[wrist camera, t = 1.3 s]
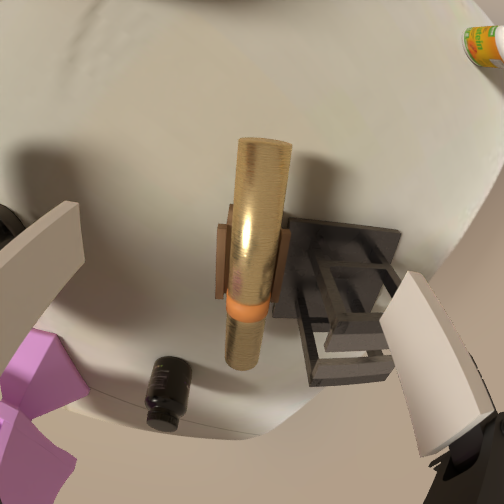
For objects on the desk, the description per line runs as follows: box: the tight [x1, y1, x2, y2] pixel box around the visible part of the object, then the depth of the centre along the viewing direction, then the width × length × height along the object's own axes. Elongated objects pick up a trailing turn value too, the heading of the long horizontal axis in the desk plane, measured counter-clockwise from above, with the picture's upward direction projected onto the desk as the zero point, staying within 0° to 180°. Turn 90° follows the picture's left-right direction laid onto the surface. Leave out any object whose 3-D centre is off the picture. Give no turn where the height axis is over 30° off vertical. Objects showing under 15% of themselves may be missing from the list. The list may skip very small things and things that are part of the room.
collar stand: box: [272, 218, 402, 387], centre depth 29 cm, size 14×14×13 cm
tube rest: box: [215, 204, 291, 303], centre depth 29 cm, size 6×8×6 cm
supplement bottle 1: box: [145, 356, 192, 432], centre depth 40 cm, size 7×7×12 cm
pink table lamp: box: [0, 328, 90, 504], centre depth 27 cm, size 22×22×45 cm
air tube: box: [225, 138, 292, 371], centre depth 26 cm, size 24×4×4 cm, turn 175°
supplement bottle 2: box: [462, 26, 504, 68], centre depth 14 cm, size 5×5×10 cm
